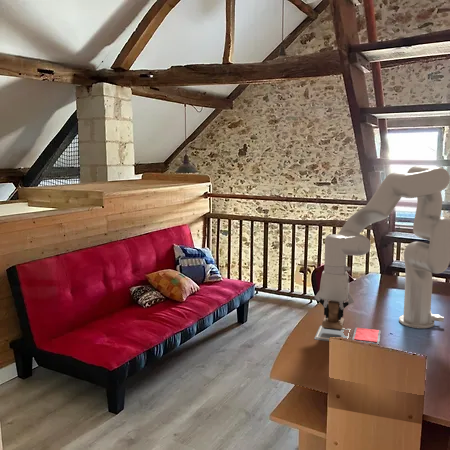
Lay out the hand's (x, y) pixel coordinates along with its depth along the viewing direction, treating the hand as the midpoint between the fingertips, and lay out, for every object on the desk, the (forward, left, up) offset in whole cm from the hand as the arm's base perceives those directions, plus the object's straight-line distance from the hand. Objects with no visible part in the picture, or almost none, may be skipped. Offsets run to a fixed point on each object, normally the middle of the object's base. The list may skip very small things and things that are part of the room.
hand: (333, 317), depth 167 cm
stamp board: (0, 0, -7) cm, 7 cm away
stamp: (0, 0, -4) cm, 4 cm away
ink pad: (-12, 0, -7) cm, 13 cm away
